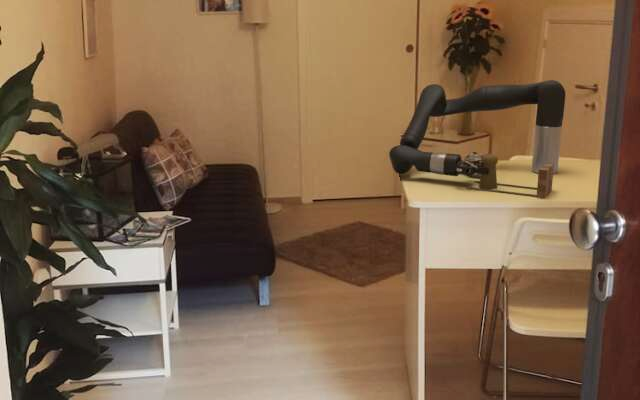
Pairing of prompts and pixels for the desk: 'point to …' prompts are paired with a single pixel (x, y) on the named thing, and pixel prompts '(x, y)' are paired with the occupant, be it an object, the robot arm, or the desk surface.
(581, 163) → the desk surface
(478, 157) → the ceramic sculpture
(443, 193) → the desk surface
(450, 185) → the desk surface
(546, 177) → the lane
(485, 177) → the cork
